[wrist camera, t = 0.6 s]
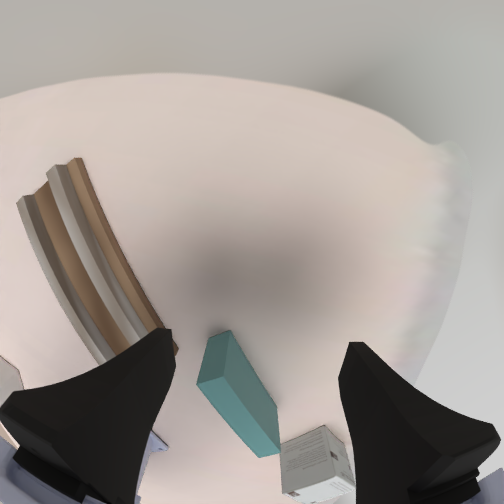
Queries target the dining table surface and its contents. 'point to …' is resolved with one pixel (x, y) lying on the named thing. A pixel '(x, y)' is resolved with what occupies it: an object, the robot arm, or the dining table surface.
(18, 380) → the medicine bottle
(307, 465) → the skincare box
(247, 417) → the door panel
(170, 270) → the dining table surface
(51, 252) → the door track
